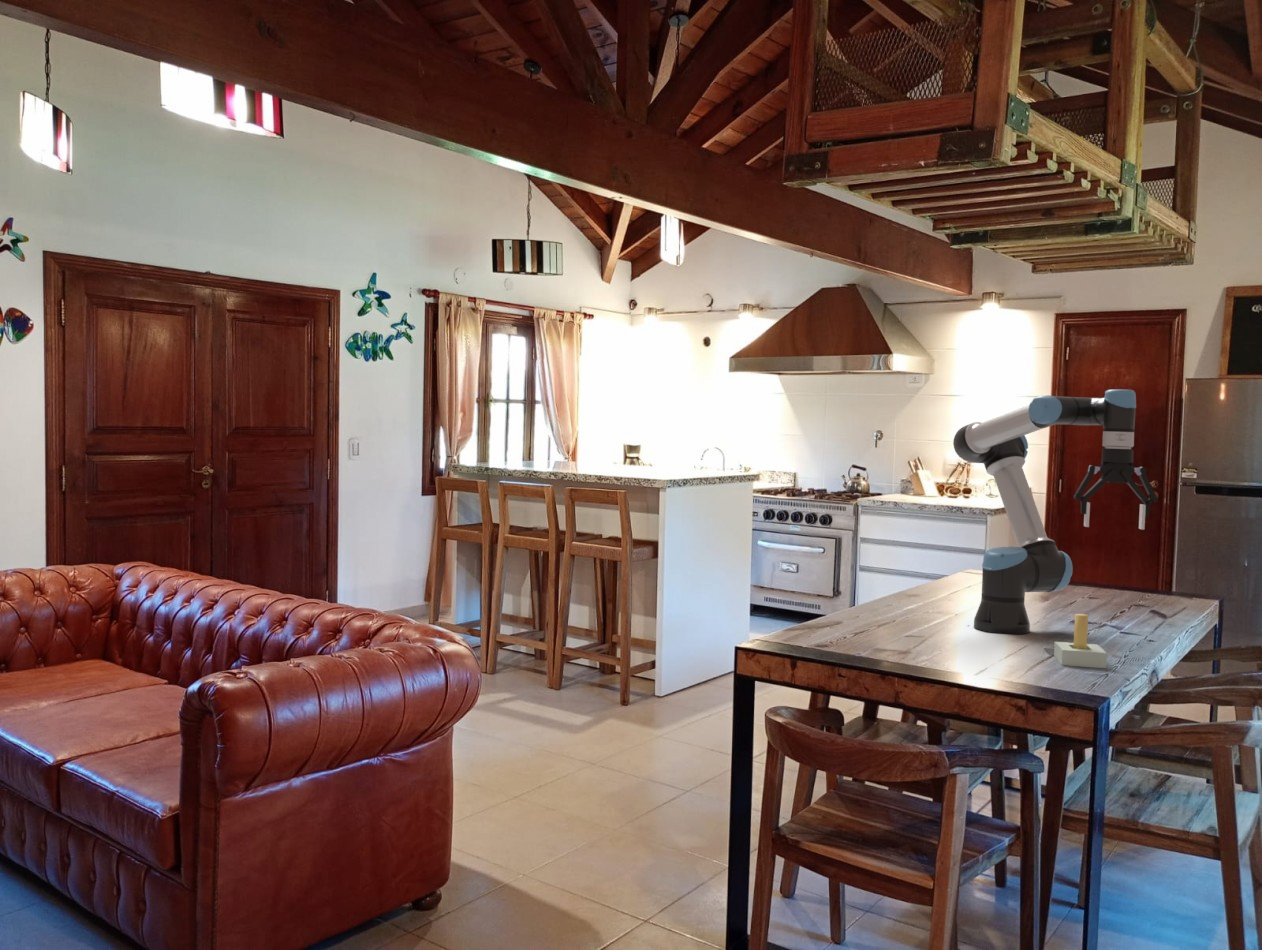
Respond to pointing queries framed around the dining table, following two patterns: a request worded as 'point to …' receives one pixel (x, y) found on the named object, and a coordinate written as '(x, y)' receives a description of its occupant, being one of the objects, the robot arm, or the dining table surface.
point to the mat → (1049, 651)
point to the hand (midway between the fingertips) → (1113, 527)
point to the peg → (1080, 631)
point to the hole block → (1080, 655)
